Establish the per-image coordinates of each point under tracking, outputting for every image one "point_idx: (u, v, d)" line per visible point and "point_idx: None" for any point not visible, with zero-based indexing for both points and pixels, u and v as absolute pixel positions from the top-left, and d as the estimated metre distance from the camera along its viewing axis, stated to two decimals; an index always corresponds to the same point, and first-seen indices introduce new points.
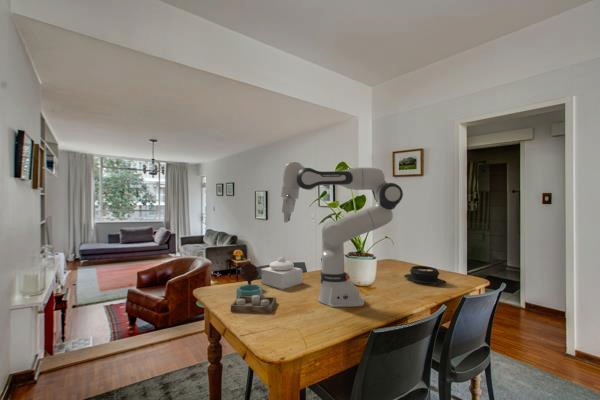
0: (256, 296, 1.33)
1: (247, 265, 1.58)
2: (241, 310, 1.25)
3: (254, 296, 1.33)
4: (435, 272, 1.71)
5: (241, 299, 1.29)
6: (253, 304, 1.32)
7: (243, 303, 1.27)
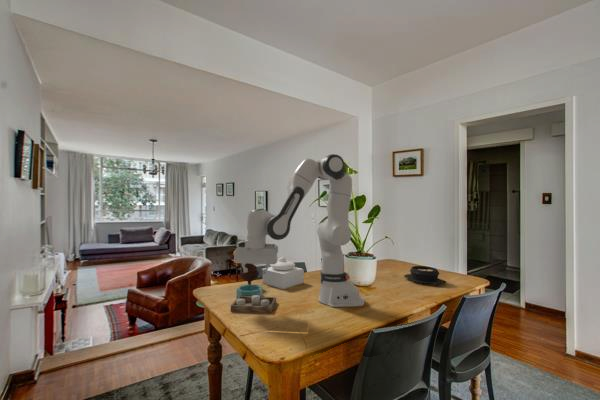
0: (256, 296, 1.33)
1: (247, 265, 1.58)
2: (241, 310, 1.25)
3: (254, 296, 1.33)
4: (435, 272, 1.71)
5: (241, 299, 1.29)
6: (253, 304, 1.32)
7: (243, 303, 1.27)
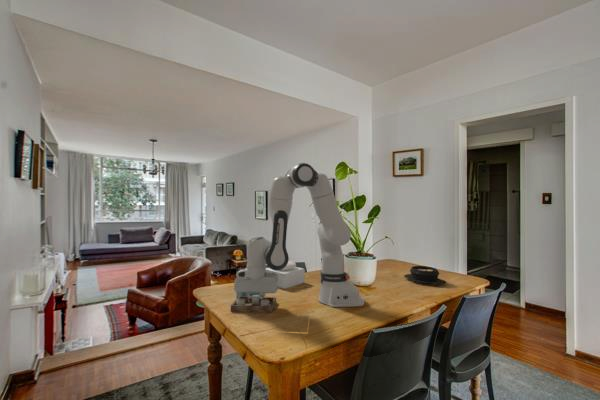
0: (256, 296, 1.33)
1: None
2: (241, 310, 1.25)
3: (254, 296, 1.33)
4: (435, 272, 1.71)
5: (241, 299, 1.29)
6: (253, 304, 1.32)
7: (243, 303, 1.27)
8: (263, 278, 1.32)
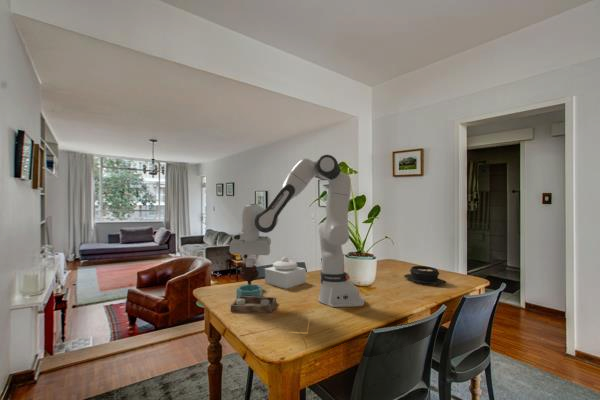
0: (250, 258, 1.44)
1: None
2: (241, 310, 1.25)
3: (248, 258, 1.44)
4: (435, 272, 1.71)
5: (241, 299, 1.29)
6: (247, 265, 1.42)
7: (243, 303, 1.27)
8: (257, 241, 1.42)
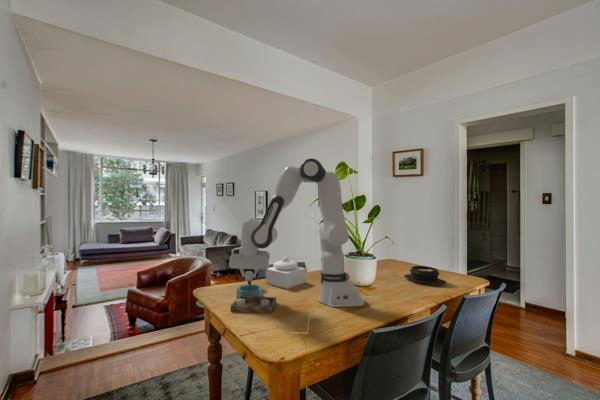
0: (249, 272, 1.45)
1: None
2: (241, 310, 1.25)
3: (247, 272, 1.45)
4: (435, 272, 1.71)
5: (241, 299, 1.29)
6: (246, 279, 1.44)
7: (243, 303, 1.27)
8: (256, 255, 1.44)
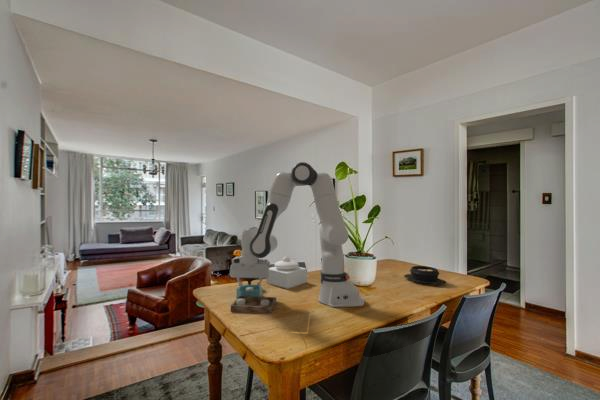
0: (250, 288, 1.45)
1: None
2: (241, 310, 1.25)
3: (248, 288, 1.45)
4: (435, 272, 1.71)
5: (241, 299, 1.29)
6: None
7: (243, 303, 1.27)
8: (256, 264, 1.44)
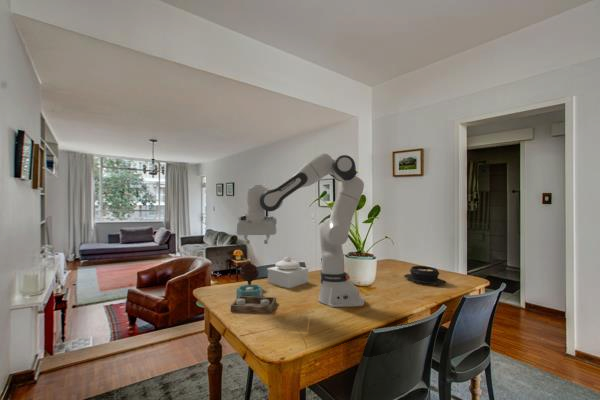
0: (250, 288, 1.45)
1: (247, 265, 1.58)
2: (241, 310, 1.25)
3: (248, 288, 1.45)
4: (435, 272, 1.71)
5: (241, 299, 1.29)
6: None
7: (243, 303, 1.27)
8: (263, 221, 1.45)
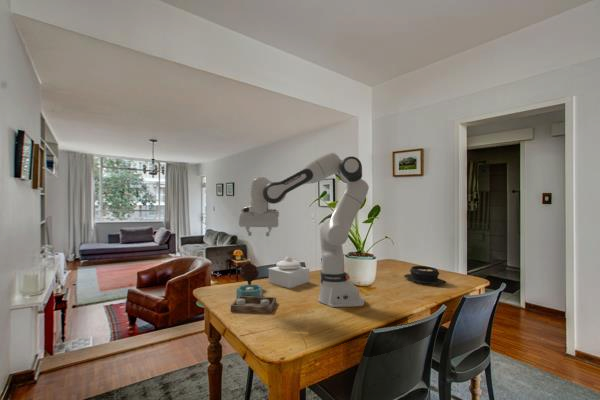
0: (250, 288, 1.45)
1: (247, 265, 1.58)
2: (241, 310, 1.25)
3: (248, 288, 1.45)
4: (435, 272, 1.71)
5: (241, 299, 1.29)
6: None
7: (243, 303, 1.27)
8: (265, 213, 1.46)
